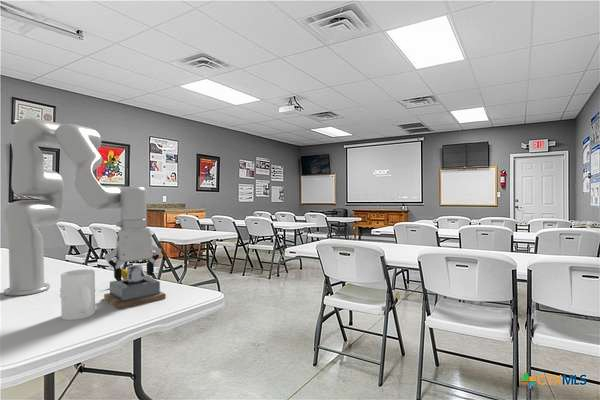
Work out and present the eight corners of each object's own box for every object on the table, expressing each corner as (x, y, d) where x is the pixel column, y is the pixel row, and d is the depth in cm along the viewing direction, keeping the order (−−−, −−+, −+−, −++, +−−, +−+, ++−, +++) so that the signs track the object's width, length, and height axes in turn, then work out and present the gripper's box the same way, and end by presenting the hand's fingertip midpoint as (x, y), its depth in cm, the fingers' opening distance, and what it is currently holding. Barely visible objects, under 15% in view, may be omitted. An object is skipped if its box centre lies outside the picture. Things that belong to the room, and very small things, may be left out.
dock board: (104, 298, 112) (104, 294, 112) (148, 289, 122) (148, 285, 122) (119, 309, 102) (119, 303, 102) (165, 298, 112) (165, 293, 112)
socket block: (109, 294, 112) (109, 281, 111) (145, 287, 120) (145, 275, 120) (122, 301, 104) (122, 288, 103) (159, 293, 112) (159, 281, 112)
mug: (69, 326, 89) (68, 280, 88) (57, 315, 97) (56, 272, 96) (104, 318, 95) (103, 274, 94) (90, 308, 103) (89, 268, 102)
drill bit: (140, 285, 130) (120, 270, 124) (129, 290, 131) (109, 276, 125) (144, 274, 134) (124, 259, 128) (133, 279, 135) (113, 264, 129)
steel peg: (125, 293, 112) (125, 266, 112) (139, 291, 115) (139, 264, 115) (130, 296, 109) (130, 267, 109) (144, 293, 112) (144, 265, 112)
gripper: (108, 227, 102) (109, 285, 103) (165, 223, 115) (165, 275, 115) (100, 226, 108) (101, 280, 108) (155, 222, 120) (156, 271, 120)
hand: (134, 277), depth 111 cm, fingers open, 9 cm apart
